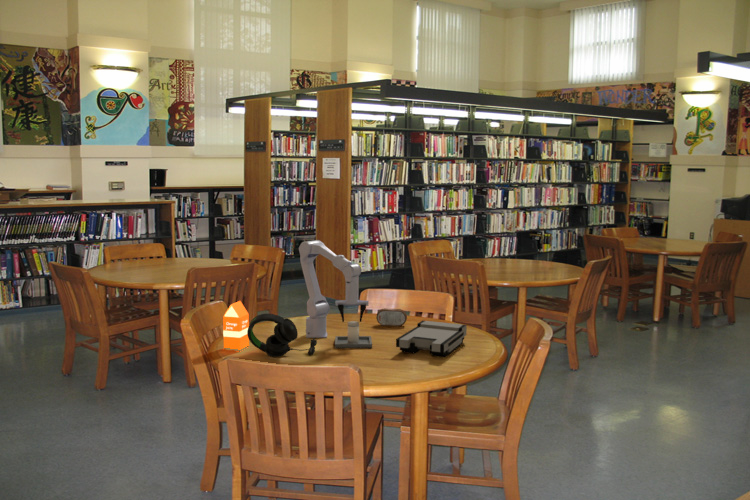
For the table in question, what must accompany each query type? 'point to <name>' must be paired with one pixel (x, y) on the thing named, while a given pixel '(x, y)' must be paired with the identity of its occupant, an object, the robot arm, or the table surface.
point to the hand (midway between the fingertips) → (351, 321)
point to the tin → (391, 317)
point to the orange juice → (236, 327)
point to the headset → (277, 336)
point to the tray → (343, 343)
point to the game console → (433, 338)
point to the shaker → (353, 332)
